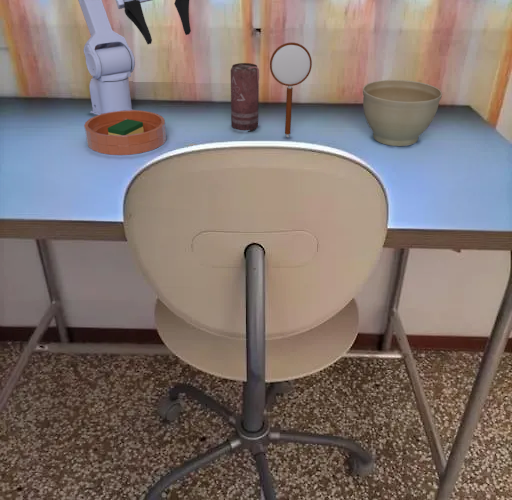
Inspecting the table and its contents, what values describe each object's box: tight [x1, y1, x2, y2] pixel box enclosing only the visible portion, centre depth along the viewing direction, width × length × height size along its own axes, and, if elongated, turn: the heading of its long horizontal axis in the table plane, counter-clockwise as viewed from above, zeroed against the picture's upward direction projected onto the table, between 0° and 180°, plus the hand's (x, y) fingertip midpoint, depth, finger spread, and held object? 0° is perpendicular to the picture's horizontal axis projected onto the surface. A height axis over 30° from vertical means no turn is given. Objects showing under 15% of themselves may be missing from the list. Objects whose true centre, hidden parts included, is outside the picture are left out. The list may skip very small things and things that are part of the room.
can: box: [230, 62, 260, 133], centre depth 120 cm, size 6×6×14 cm
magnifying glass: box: [269, 42, 313, 139], centre depth 114 cm, size 9×2×20 cm, turn 92°
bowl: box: [83, 109, 167, 156], centre depth 114 cm, size 16×16×4 cm
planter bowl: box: [362, 79, 443, 147], centre depth 116 cm, size 16×16×11 cm
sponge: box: [108, 119, 144, 135], centre depth 114 cm, size 6×4×3 cm, turn 153°
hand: (169, 37), depth 102 cm, fingers open, 7 cm apart
